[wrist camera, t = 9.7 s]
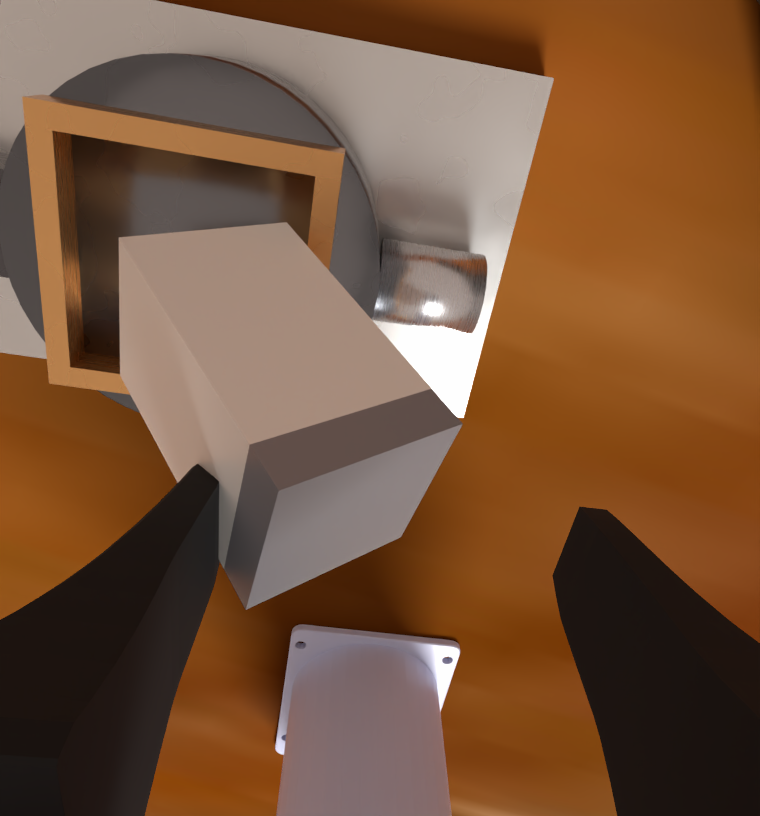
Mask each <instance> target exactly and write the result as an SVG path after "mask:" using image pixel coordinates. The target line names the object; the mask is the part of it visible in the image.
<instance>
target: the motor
mask: <svg viewBox="0 0 760 816" xmlns="http://www.w3.org/2000/svg"><path fill="white" fill-rule="evenodd" d="M553 80H554V78H550V77H545V76H540V75H535V74H530V73H525V72H520V71H515V70H510V69H504V68H499V67H494V66H489V65H484V64H479V63H474V62H469V61H463V60H458V59H453V58H448V57H443V56H438V55H433V54H428V53H422V52H417V51H412V50H407V49H402V48H397V47H392V46H387V45H381V44H376V43H371V42H366V41H361V40H356V39H351V38H346V37H341V36H335V35H330V34H325V33H320V32H315V31H310V30H305V29H300V28H294V27H289V26H284V25H279V24H274V23H269V22H264V21H259V20H253V19H248V18H243V17H238V16H233V15H228V14H223V13H218V12H212V11H207V10H202V9H197V8H192V7H187V6H182V5H177V4H172V3H166V2H161V1H156V0H0V352H1V353H8V354H15V355H22V356H29V357H36V358H44V359H47V366H48V377H49V384H56V385H64V386H71V387H78V388H85V389H93V390H97V391H99V392H100V393H102V394H103V395H105V396H107V397H108V398H110V399H112V400H114V401H116V402H118V403H119V404H121V405H123V406H125V407H127V408H130V409H132V410H134V411H137V412H139V410H138V408H137V406H136V404H135V402H134V401H133V399H132V397H131V395H130V393H129V391H128V389H127V387H126V386H125V384H124V382H123V380H122V378H121V376H120V322H119V237H129V236H140V235H151V234H162V233H173V232H184V231H195V230H206V229H217V228H228V227H239V226H250V225H261V224H272V223H283V222H287V223H288V224H289V225H290V227H291V228H292V229H293V230H294V231H295V232H296V234H297V235H298V236H299V237H300V238H301V239H302V240H303V242H304V243H305V244H306V245H307V246H308V247H309V248H310V250H311V251H312V252H313V253H314V254H315V255H316V256H317V258H318V259H319V260H320V261H321V262H322V263H323V264H324V266H325V267H326V268H327V269H328V270H329V271H330V272H331V274H332V275H333V276H334V277H335V278H336V279H337V280H338V282H339V283H340V284H341V285H342V286H343V287H344V288H345V290H346V291H347V292H348V293H349V294H350V295H351V297H352V298H353V299H354V300H355V301H356V302H357V303H358V305H359V306H360V307H361V308H362V309H363V310H364V311H365V313H366V314H367V315H368V316H369V317H370V318H371V319H372V321H373V322H374V323H375V324H376V325H377V326H378V327H379V329H380V330H381V331H382V332H383V333H384V334H385V335H386V337H387V338H388V339H389V340H390V341H391V342H392V343H393V345H394V346H395V347H396V348H397V349H398V350H399V351H400V353H401V354H402V355H403V356H404V357H405V358H406V360H407V361H408V362H409V363H410V364H411V365H412V366H413V368H414V369H415V370H416V371H417V372H418V373H419V374H420V376H421V377H422V378H423V379H424V380H425V381H426V382H427V384H428V385H429V386H430V387H431V388H432V389H433V390H434V392H435V393H436V394H437V395H438V396H439V397H440V398H441V400H442V401H443V402H444V403H445V404H446V405H447V406H448V408H449V409H450V410H451V411H452V412H453V413H454V415H455V416H456V417H464V413H465V409H466V405H467V402H468V398H469V394H470V390H471V387H472V383H473V379H474V375H475V372H476V368H477V364H478V360H479V357H480V353H481V349H482V345H483V342H484V338H485V334H486V331H487V327H488V323H489V319H490V316H491V312H492V308H493V304H494V301H495V297H496V293H497V289H498V286H499V282H500V278H501V274H502V271H503V267H504V263H505V259H506V256H507V252H508V248H509V245H510V241H511V237H512V233H513V230H514V226H515V222H516V218H517V215H518V211H519V207H520V203H521V200H522V196H523V192H524V188H525V185H526V181H527V177H528V173H529V170H530V166H531V162H532V158H533V155H534V151H535V147H536V144H537V140H538V136H539V132H540V129H541V125H542V121H543V117H544V114H545V110H546V106H547V102H548V99H549V95H550V91H551V87H552V84H553ZM139 413H140V412H139Z"/></svg>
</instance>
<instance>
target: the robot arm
mask: <svg viewBox="0 0 760 816" xmlns="http://www.w3.org/2000/svg"><path fill="white" fill-rule="evenodd" d="M219 562H220V561H219V481H218V480H217V479H216V478H215V477H214V476H212V475H211V474H210V473H209V472H208V471H206V470H205V469H204V468H203V467H201V466H200V465H199V464H196V465H195V466H193V467H192V468H191V469H190V470H189V471H188V472H187V473H186V475H185V476H184V477H183V478H182V479H181V480H180V481H179V482H178V483H177V484H176V485H175V486H174V488H173V489H172V490H171V491H170V492H169V493H168V494H167V495H166V496H165V497H164V498H163V499H162V500H161V501H160V502H159V503H158V504H157V505H156V506H155V507H154V508H153V509H152V510H150V511H149V512H148V513H147V514H146V515H145V516H144V517H143V518H142V519H141V520H140V521H139V522H138V523H137V524H136V525H135V526H133V527H132V528H131V529H130V530H129V531H128V532H127V533H125V534H124V535H123V536H122V537H121V538H119V539H118V540H117V541H116V542H115V543H114V544H112V545H111V546H110V547H109V548H108V549H107V550H105V551H104V552H103V553H102V554H100V555H99V556H98V557H96V558H95V559H94V560H93V561H91V562H90V563H89V564H87V565H86V566H85V567H83V568H82V569H81V570H79V571H78V572H76V573H75V574H73V575H72V576H71V577H69V578H68V579H66V580H65V581H64V582H62V583H61V584H59V585H58V586H56V587H54V588H53V589H51V590H50V591H48V592H47V593H45V594H44V595H42V596H40V597H39V598H37V599H36V600H34V601H32V602H31V603H29V604H27V605H26V606H24V607H22V608H21V609H19V610H17V611H16V612H14V613H12V614H10V615H9V616H7V617H5V618H3V619H1V620H0V816H145V811H146V807H147V803H148V799H149V795H150V791H151V787H152V783H153V779H154V774H155V770H156V766H157V762H158V758H159V754H160V750H161V746H162V742H163V738H164V734H165V731H166V727H167V723H168V719H169V715H170V711H171V707H172V703H173V700H174V697H175V694H176V691H177V687H178V684H179V681H180V678H181V676H182V673H183V670H184V667H185V665H186V662H187V659H188V656H189V654H190V651H191V648H192V645H193V643H194V640H195V637H196V634H197V632H198V629H199V626H200V623H201V621H202V618H203V615H204V612H205V609H206V607H207V604H208V601H209V598H210V595H211V593H212V590H213V587H214V583H215V579H216V575H217V571H218V567H219ZM553 580H554V586H555V592H556V598H557V603H558V607H559V612H560V617H561V621H562V624H563V627H564V630H565V633H566V636H567V639H568V642H569V645H570V648H571V651H572V654H573V657H574V660H575V663H576V666H577V669H578V671H579V674H580V677H581V680H582V683H583V686H584V689H585V692H586V695H587V698H588V701H589V703H590V706H591V709H592V712H593V715H594V719H595V722H596V725H597V729H598V732H599V735H600V739H601V743H602V748H603V752H604V756H605V761H606V765H607V769H608V774H609V778H610V782H611V787H612V792H613V797H614V802H615V807H616V811H617V816H760V643H758V642H757V641H756V640H754V639H753V638H752V637H750V636H749V635H748V634H746V633H745V632H744V631H742V630H741V629H740V628H738V627H737V626H736V625H734V624H733V623H732V622H731V621H729V620H728V619H727V618H726V617H724V616H723V615H722V614H721V613H720V612H718V611H717V610H716V609H715V608H714V607H713V606H711V605H710V604H709V603H708V602H707V601H705V600H704V599H703V598H702V597H701V596H700V595H698V594H697V593H696V592H695V591H694V590H693V589H692V588H690V587H689V586H688V585H687V584H686V583H685V582H684V581H683V580H682V579H680V578H679V577H678V576H677V575H676V574H675V573H674V572H673V571H672V570H671V569H670V568H669V567H667V566H666V565H665V564H664V563H663V562H662V561H661V560H660V559H659V558H658V557H657V556H656V555H655V554H654V553H653V552H652V551H651V550H650V549H648V548H647V547H646V546H645V545H644V544H643V543H642V542H641V541H640V540H639V539H638V538H637V537H636V536H635V535H634V534H633V533H632V532H631V531H630V530H629V529H628V528H626V527H625V526H624V525H623V524H622V523H621V522H620V521H619V520H618V519H617V518H616V517H614V516H613V515H612V514H611V513H610V512H609V511H607V510H603V509H595V508H586V507H579V510H578V512H577V515H576V517H575V520H574V522H573V525H572V528H571V530H570V533H569V535H568V538H567V540H566V543H565V545H564V548H563V550H562V553H561V556H560V558H559V561H558V563H557V566H556V568H555V571H554V573H553ZM299 641H302V642H305V643H298V642H299ZM459 655H460V647H459V644H458V643H457V642H456V641H453V640H445V639H436V638H426V637H417V636H408V635H398V634H389V633H379V632H370V631H361V630H351V629H342V628H333V627H323V626H314V625H304V624H301V625H297V626H295V627H294V628H293V629H292V633H291V640H290V647H289V654H288V661H287V668H286V675H285V682H284V689H283V696H282V703H281V710H280V717H279V724H278V731H277V738H276V745H275V750H276V751H277V752H278V753H279V754H283V755H284V758H283V766H282V774H281V782H280V791H279V799H278V807H277V815H276V816H452V815H451V806H450V797H449V788H448V779H447V769H446V760H445V751H444V742H443V733H442V724H441V714H440V712H441V709H442V706H443V703H444V700H445V697H446V694H447V691H448V688H449V685H450V682H451V679H452V676H453V673H454V670H455V667H456V664H457V661H458V658H459ZM444 657H449V658H444Z"/></svg>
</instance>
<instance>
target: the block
mask: <svg viewBox="0 0 760 816" xmlns="http://www.w3.org/2000/svg"><path fill="white" fill-rule="evenodd" d="M119 322H120V376H121V378H122V380H123V382H124V384H125V386H126V387H127V389H128V391H129V393H130V395H131V397H132V399H133V401H134V402H135V404H136V406H137V408H138V410H139V412H140V414H141V415H142V417H143V419H144V421H145V423H146V425H147V427H148V429H149V430H150V432H151V434H152V436H153V438H154V440H155V442H156V443H157V445H158V447H159V449H160V451H161V453H162V455H163V456H164V458H165V460H166V462H167V464H168V466H169V468H170V470H171V471H172V473H173V475H174V477H175V479H176V481H177V483H178V482H179V481H180V480H181V479H182V478H183V477H184V476H185V475H186V473H187V472H188V471H189V470H190V469H191V468H192V467H193V466H195V465H196V464H199V465H200V466H201V467H203V468H204V469H205V470H206V471H208V472H209V473H210V474H211V475H212V476H214V477H215V478H216V479H217V480H218V481H219V561H220V563H221V565H222V567H223V568H224V570H225V572H226V574H227V576H228V578H229V580H230V582H231V583H232V585H233V587H234V589H235V591H236V593H237V595H238V596H239V598H240V600H241V602H242V604H243V606H244V608H245V610H247V609H249V608H251V607H253V606H255V605H257V604H259V603H262V602H264V601H266V600H268V599H270V598H272V597H274V596H277V595H279V594H281V593H283V592H285V591H287V590H289V589H291V588H294V587H296V586H298V585H300V584H302V583H304V582H306V581H309V580H311V579H313V578H315V577H317V576H319V575H321V574H323V573H326V572H328V571H330V570H332V569H334V568H336V567H338V566H340V565H343V564H345V563H347V562H349V561H351V560H353V559H355V558H358V557H360V556H362V555H364V554H366V553H368V552H370V551H372V550H375V549H377V548H379V547H381V546H383V545H385V544H387V543H389V542H392V541H394V540H396V539H398V538H400V537H401V536H402V534H403V532H404V530H405V529H406V527H407V525H408V523H409V521H410V519H411V518H412V516H413V514H414V512H415V510H416V508H417V507H418V505H419V503H420V501H421V499H422V497H423V496H424V494H425V492H426V490H427V488H428V487H429V485H430V483H431V481H432V479H433V477H434V476H435V474H436V472H437V470H438V468H439V466H440V465H441V463H442V461H443V459H444V457H445V455H446V454H447V452H448V450H449V448H450V446H451V444H452V443H453V441H454V439H455V437H456V435H457V433H458V432H459V430H460V428H461V426H462V423H461V421H460V420H459V419H458V418H457V417H456V416H455V415H454V413H453V412H452V411H451V410H450V409H449V408H448V406H447V405H446V404H445V403H444V402H443V401H442V400H441V398H440V397H439V396H438V395H437V394H436V393H435V392H434V390H433V389H432V388H431V387H430V386H429V385H428V384H427V382H426V381H425V380H424V379H423V378H422V377H421V376H420V374H419V373H418V372H417V371H416V370H415V369H414V368H413V366H412V365H411V364H410V363H409V362H408V361H407V360H406V358H405V357H404V356H403V355H402V354H401V353H400V351H399V350H398V349H397V348H396V347H395V346H394V345H393V343H392V342H391V341H390V340H389V339H388V338H387V337H386V335H385V334H384V333H383V332H382V331H381V330H380V329H379V327H378V326H377V325H376V324H375V323H374V322H373V321H372V319H371V318H370V317H369V316H368V315H367V314H366V313H365V311H364V310H363V309H362V308H361V307H360V306H359V305H358V303H357V302H356V301H355V300H354V299H353V298H352V297H351V295H350V294H349V293H348V292H347V291H346V290H345V288H344V287H343V286H342V285H341V284H340V283H339V282H338V280H337V279H336V278H335V277H334V276H333V275H332V274H331V272H330V271H329V270H328V269H327V268H326V267H325V266H324V264H323V263H322V262H321V261H320V260H319V259H318V258H317V256H316V255H315V254H314V253H313V252H312V251H311V250H310V248H309V247H308V246H307V245H306V244H305V243H304V242H303V240H302V239H301V238H300V237H299V236H298V235H297V234H296V232H295V231H294V230H293V229H292V228H291V227H290V225H289V224H288V223H287V222H283V223H272V224H261V225H250V226H239V227H228V228H217V229H206V230H195V231H184V232H173V233H162V234H151V235H140V236H129V237H119Z"/></svg>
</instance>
